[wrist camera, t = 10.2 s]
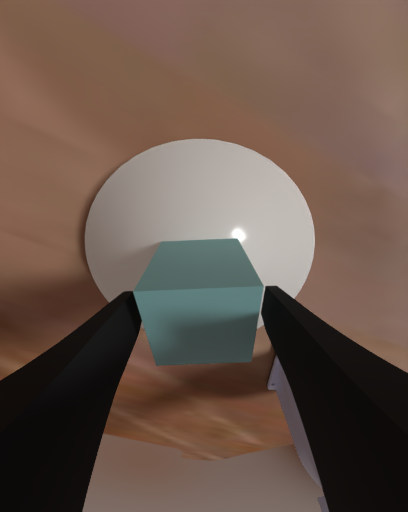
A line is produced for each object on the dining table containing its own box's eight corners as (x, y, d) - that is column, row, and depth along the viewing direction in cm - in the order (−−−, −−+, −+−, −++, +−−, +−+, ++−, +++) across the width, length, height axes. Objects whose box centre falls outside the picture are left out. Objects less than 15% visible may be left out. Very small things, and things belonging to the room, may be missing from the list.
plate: (282, 328, 16) (287, 338, 15) (127, 333, 17) (122, 344, 15) (336, 137, 9) (354, 132, 8) (54, 148, 9) (35, 145, 8)
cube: (233, 296, 13) (251, 361, 8) (171, 298, 13) (156, 365, 8) (237, 238, 10) (263, 286, 6) (161, 241, 11) (132, 291, 6)
